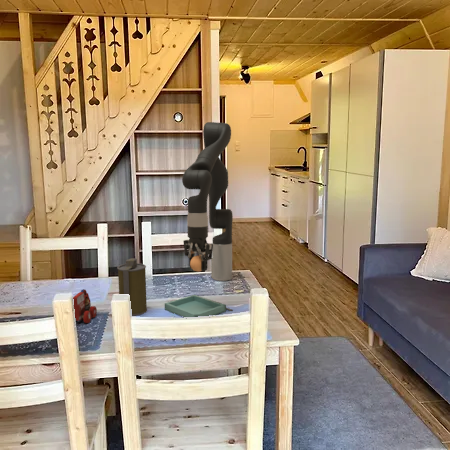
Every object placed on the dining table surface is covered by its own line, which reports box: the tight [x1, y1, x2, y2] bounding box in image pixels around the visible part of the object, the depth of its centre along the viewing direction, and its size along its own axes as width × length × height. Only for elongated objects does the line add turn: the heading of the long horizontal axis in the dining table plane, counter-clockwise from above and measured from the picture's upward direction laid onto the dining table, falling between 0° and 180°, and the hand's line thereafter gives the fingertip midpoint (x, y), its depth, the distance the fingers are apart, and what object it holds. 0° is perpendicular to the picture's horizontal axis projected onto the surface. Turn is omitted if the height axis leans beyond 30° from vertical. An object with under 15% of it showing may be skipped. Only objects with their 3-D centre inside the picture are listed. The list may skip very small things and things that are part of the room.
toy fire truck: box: [72, 289, 98, 324], centre depth 157 cm, size 7×12×10 cm, turn 175°
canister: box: [116, 257, 148, 317], centre depth 164 cm, size 11×10×20 cm
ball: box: [189, 254, 203, 272], centre depth 164 cm, size 6×6×6 cm
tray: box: [164, 294, 227, 318], centre depth 166 cm, size 18×15×2 cm
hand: (198, 269), depth 164 cm, fingers closed on ball, 6 cm apart
